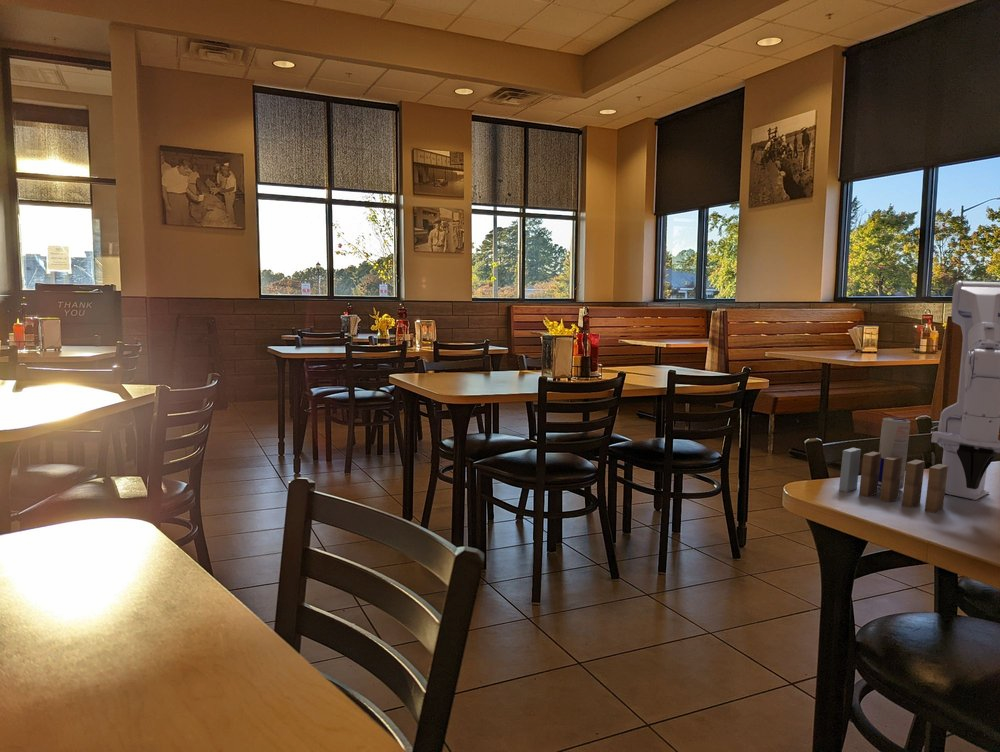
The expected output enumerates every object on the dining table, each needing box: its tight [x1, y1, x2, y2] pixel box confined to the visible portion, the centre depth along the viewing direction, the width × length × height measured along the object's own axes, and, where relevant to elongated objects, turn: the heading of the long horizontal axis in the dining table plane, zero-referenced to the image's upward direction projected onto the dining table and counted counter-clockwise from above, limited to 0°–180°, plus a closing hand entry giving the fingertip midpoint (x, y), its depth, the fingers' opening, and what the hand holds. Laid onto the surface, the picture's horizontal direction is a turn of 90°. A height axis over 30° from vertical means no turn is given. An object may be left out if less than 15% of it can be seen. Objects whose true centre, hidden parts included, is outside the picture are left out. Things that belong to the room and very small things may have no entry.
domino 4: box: [901, 459, 926, 508], centre depth 134 cm, size 5×2×8 cm, turn 130°
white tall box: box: [878, 417, 911, 491], centre depth 144 cm, size 5×5×15 cm
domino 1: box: [838, 447, 862, 493], centre depth 143 cm, size 5×2×8 cm, turn 130°
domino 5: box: [924, 463, 948, 513], centre depth 131 cm, size 5×2×8 cm, turn 130°
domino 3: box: [879, 456, 903, 503], centre depth 137 cm, size 5×2×8 cm, turn 130°
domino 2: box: [858, 451, 881, 497], centre depth 140 cm, size 5×2×8 cm, turn 130°
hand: (972, 487), depth 127 cm, fingers closed
